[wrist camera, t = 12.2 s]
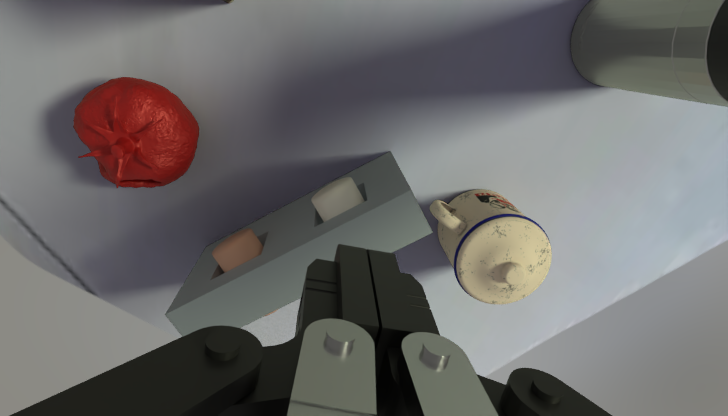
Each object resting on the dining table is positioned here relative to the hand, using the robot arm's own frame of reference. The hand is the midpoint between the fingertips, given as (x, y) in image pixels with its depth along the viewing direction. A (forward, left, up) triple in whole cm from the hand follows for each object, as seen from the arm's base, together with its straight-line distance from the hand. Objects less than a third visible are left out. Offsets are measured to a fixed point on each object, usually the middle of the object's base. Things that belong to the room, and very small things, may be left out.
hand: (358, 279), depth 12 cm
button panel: (+1, +12, -35) cm, 37 cm away
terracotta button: (+5, +15, -29) cm, 33 cm away
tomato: (+17, +6, -35) cm, 40 cm away
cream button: (-3, +9, -29) cm, 30 cm away
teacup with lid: (-16, +9, -35) cm, 40 cm away
